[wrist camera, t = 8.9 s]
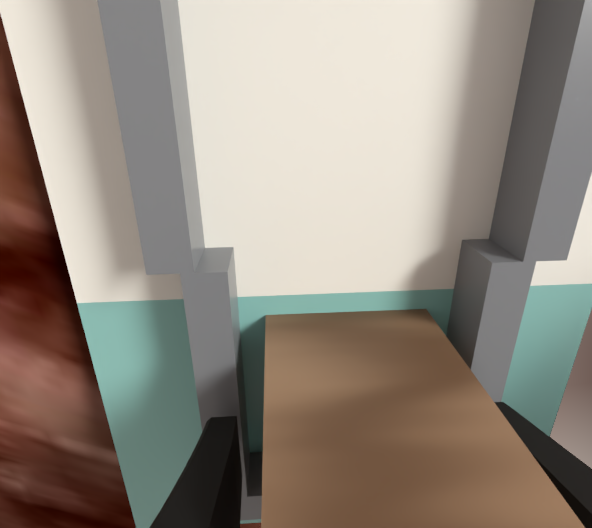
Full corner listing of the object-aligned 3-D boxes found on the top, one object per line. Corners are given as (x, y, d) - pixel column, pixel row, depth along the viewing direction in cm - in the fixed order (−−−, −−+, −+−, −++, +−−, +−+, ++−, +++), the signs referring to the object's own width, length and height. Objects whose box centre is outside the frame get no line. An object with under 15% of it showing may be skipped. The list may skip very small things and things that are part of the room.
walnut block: (426, 308, 11) (587, 531, 5) (409, 429, 13) (517, 690, 7) (265, 314, 11) (260, 553, 5) (271, 436, 12) (271, 712, 7)
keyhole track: (744, -278, 7) (941, -433, 5) (515, 484, 15) (554, 548, 13) (-56, -308, 6) (-215, -503, 4) (143, 508, 14) (122, 579, 12)
